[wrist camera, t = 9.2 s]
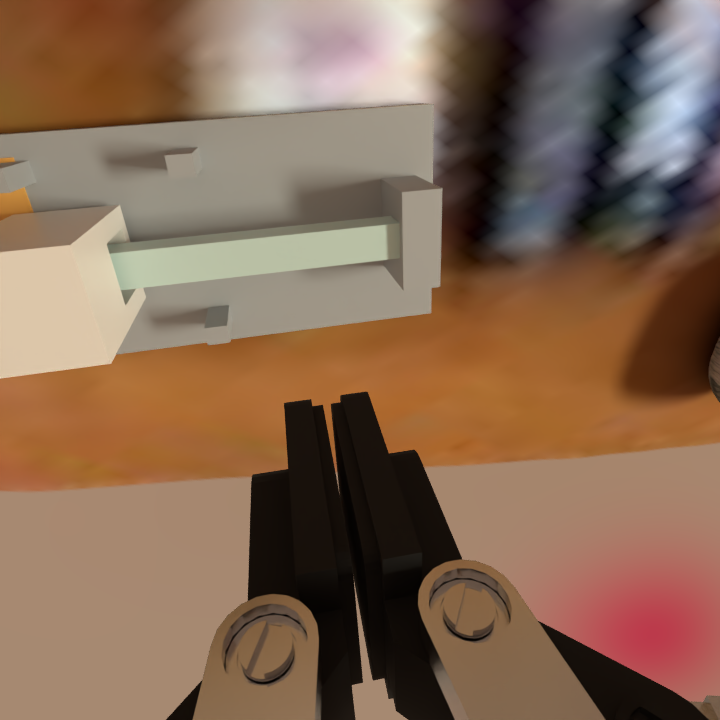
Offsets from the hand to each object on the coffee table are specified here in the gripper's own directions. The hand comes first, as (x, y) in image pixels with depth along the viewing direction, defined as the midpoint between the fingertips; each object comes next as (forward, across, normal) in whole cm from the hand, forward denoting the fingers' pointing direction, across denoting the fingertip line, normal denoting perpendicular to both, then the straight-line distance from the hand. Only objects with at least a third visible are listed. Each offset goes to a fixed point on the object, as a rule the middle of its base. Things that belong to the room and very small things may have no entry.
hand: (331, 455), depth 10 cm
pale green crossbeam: (+18, +7, +1) cm, 19 cm away
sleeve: (+19, +11, +1) cm, 22 cm away
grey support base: (+22, +7, +1) cm, 23 cm away
